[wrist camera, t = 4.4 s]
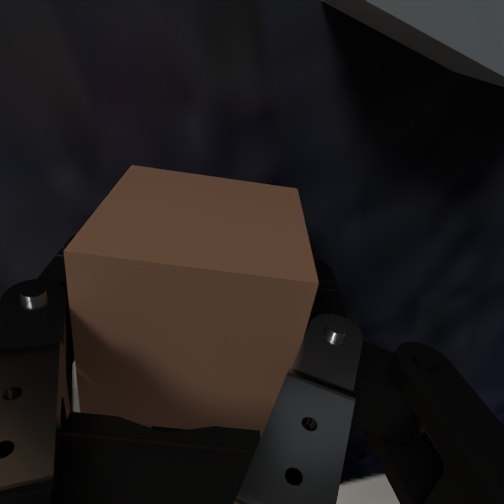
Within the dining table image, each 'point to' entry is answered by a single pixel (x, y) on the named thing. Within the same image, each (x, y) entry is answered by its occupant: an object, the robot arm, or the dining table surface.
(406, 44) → the blue-grey cube
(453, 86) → the dining table surface
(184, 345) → the terracotta cube
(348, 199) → the dining table surface
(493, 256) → the dining table surface
